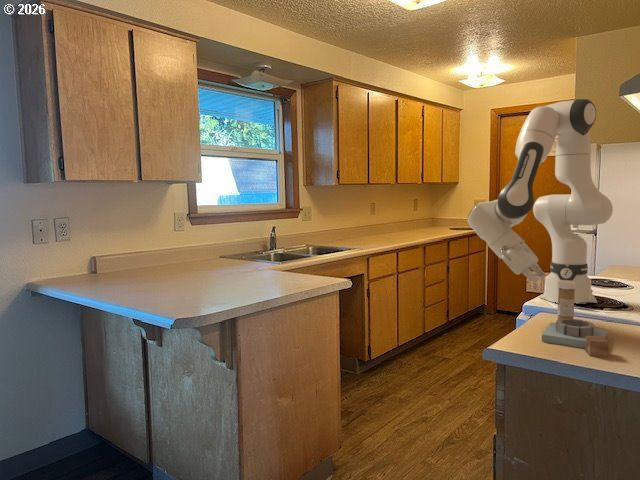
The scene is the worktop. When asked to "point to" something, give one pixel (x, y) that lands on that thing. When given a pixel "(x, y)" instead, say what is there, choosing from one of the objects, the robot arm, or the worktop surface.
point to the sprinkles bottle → (566, 299)
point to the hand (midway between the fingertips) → (540, 278)
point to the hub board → (571, 332)
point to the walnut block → (596, 346)
